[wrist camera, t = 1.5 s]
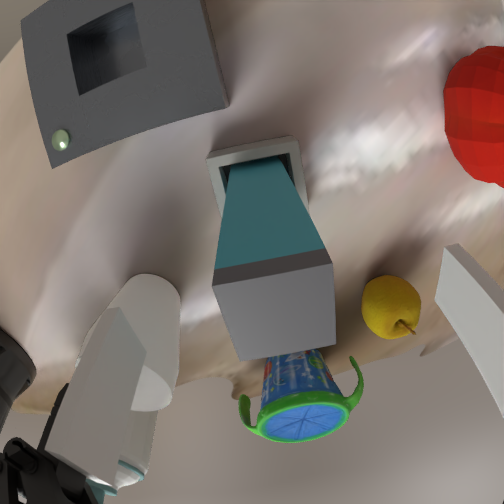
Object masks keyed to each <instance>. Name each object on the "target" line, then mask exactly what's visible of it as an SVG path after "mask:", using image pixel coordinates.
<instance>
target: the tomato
mask: <svg viewBox="0 0 504 504" xmlns="http://www.w3.org/2000/svg"><path fill="white" fill-rule="evenodd" d="M443 93H444V107H445V133H446V136H447V138H448V141H449V144H450V147H451V149H452V151H453V154H454V156H455V157H456V159H457V160H458V161H459V163H460V164H461V165H462V167H463V168H464V170H465V171H466V172H467V173H469V174H470V175H471V176H472V177H473V178H474V179H476V180H480V181H484V182H487V183H496V184H498V185H499V186H501V187H502V188H504V47H500V46H486V47H483V48H480V49H478V50H476V51H475V52H474V53H472V54H471V55H470V56H467V57H464V58H461V59H460V60H459V61H458V62H457V63H456V64H455V66H454V67H453V69H452V70H451V71H450V73H449V75H448V78H447V81H446V84H445V87H444V90H443Z"/></svg>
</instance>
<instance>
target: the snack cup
mask: <svg viewBox="0 0 504 504" xmlns="http://www.w3.org/2000/svg"><path fill="white" fill-rule="evenodd" d="M349 358H350V361H351V364H352V366H353V367H354V368H355V370H356V372H357V375H358V378H359V381H358V385H357V387H356V389H355V391H354V393H353V394H352V395H351V396H349V397H344V396H343V395H342V393H341V392H340V390H339V388H338V386H337V385H336V383H335V382H334V381H333V378H332V375H331V374H330V371H329V369H328V367H327V365H326V363H325V361H324V359H323V357H322V355H321V353H320V352H319V350H316V349H310V350H305V351H300V352H295V353H289V354H284V355H278V356H272V357H268V360H267V362H266V365H265V371H264V380H263V389H262V398H261V400H262V403H261V410H260V412H259V414H258V417H257V425H256V426H251V422H250V399H249V397H248V396H246V395H244V394H242V395H241V396H240V398H239V413H240V417H241V420H242V422H243V424H244V425H245V426H246V427H247V428H248V429H249V430H251V431H252V432H254V433H255V434H258V435H260V436H263V437H265V438H267V439H269V440H272V441H276V442H284V443H295V442H304V441H310V440H314V439H317V438H320V437H323V436H326V435H328V434H330V433H332V432H334V431H336V430H337V429H339V428H340V427H341V426H343V425H344V424H345V423H346V421H347V420H348V418H349V414H350V411H351V410H352V409H353V408H354V407H355V406H356V405H357V403H359V400H360V398H361V396H362V393H363V387H364V383H363V377H362V373H361V371H360V369H359V367H358V365H357V363H356V361H355V360H354V358H353V357H352V356H350V357H349Z"/></svg>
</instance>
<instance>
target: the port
mask: <svg viewBox="0 0 504 504" xmlns="http://www.w3.org/2000/svg"><path fill="white" fill-rule="evenodd" d="M21 30H22V40H23V48H24V55H25V62H26V68H27V74H28V80H29V85H30V90H31V94H32V99H33V103H34V108H35V112H36V116H37V120H38V124H39V127H40V131H41V135H42V138H43V141H44V145H45V148H46V151H47V155H48V158H49V161H50V164H51V167H52V169H53V168H55V167H57V166H59V165H62V164H64V163H66V162H68V161H70V160H72V159H75V158H77V157H79V156H81V155H84V154H86V153H88V152H91V151H93V150H96V149H98V148H100V147H103V146H105V145H108V144H111V143H113V142H116V141H118V140H121V139H124V138H127V137H129V136H132V135H135V134H138V133H141V132H144V131H147V130H150V129H153V128H156V127H159V126H162V125H165V124H168V123H172V122H175V121H179V120H182V119H186V118H189V117H193V116H197V115H200V114H204V113H208V112H212V111H216V110H220V109H225V108H227V107H229V106H230V105H229V101H228V97H227V92H226V88H225V84H224V80H223V76H222V71H221V67H220V63H219V59H218V55H217V51H216V46H215V42H214V38H213V34H212V30H211V26H210V22H209V18H208V14H207V10H206V6H205V2H204V0H49V1H47V2H46V3H44V4H43V5H42V6H40V7H39V8H37V9H36V10H34V11H33V12H32V13H30V14H29V15H28V16H26V17H25V18H24V19H22V20H21Z"/></svg>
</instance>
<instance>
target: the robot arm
mask: <svg viewBox="0 0 504 504" xmlns="http://www.w3.org/2000/svg"><path fill="white" fill-rule="evenodd" d="M435 302H436V303H437V304H438V306H439V307H440V309H441V310H442V312H443V313H444V315H445V316H446V318H447V319H448V321H449V322H450V324H451V325H452V327H453V328H454V330H455V331H456V333H457V335H458V336H459V338H460V339H461V341H462V343H463V344H464V346H465V347H466V349H467V351H468V353H469V354H470V356H471V358H472V359H473V361H474V363H475V364H476V366H477V368H478V370H479V371H480V373H481V375H482V377H483V379H484V381H485V382H486V384H487V386H488V388H489V390H490V392H491V394H492V396H493V398H494V400H495V402H496V403H497V406H498V408H499V410H500V412H501V414H502V416H503V418H504V290H503V289H502V288H501V287H500V286H499V285H498V284H497V283H496V281H495V280H494V279H493V278H492V277H491V276H490V275H489V274H488V273H487V272H486V271H485V270H484V269H483V268H482V267H481V266H480V265H479V264H478V262H477V261H476V260H475V259H474V258H473V257H472V256H471V255H470V254H469V253H467V252H466V251H465V250H464V249H463V248H462V247H461V246H460V245H459V244H454V245H450V246H446V247H444V251H443V258H442V264H441V270H440V276H439V281H438V286H437V291H436V296H435ZM146 353H147V351H146V350H145V348H144V347H143V345H142V344H141V342H140V340H139V339H138V337H137V336H136V334H135V332H134V331H133V329H132V327H131V326H130V324H129V322H128V321H127V319H126V317H125V316H124V314H123V312H122V310H121V309H120V307H116V308H108V309H105V310H104V312H103V314H102V316H101V318H100V320H99V322H98V324H97V325H96V327H95V329H94V331H93V334H92V336H91V338H90V340H89V342H88V344H87V346H86V348H85V350H84V352H83V354H82V356H81V359H80V361H79V363H78V365H77V367H76V370H75V372H74V374H73V376H72V379H71V381H70V383H66V385H65V386H64V387H63V388H62V390H61V391H60V392H59V394H58V396H57V398H56V401H55V403H54V407H53V408H52V411H51V416H49V418H48V421H47V423H46V426H45V429H44V431H43V435H42V437H41V440H40V443H39V445H38V448H37V450H36V449H34V448H33V447H32V446H30V445H29V444H28V443H26V442H25V441H24V440H22V439H21V438H18V437H15V438H12V439H11V440H9V441H8V442H7V444H6V445H5V447H4V450H3V454H2V453H0V504H24V503H22V502H20V501H19V500H18V495H20V496H22V497H24V498H26V499H27V503H26V504H98V502H97V500H96V498H95V496H94V494H93V492H92V489H91V487H90V486H89V484H88V483H87V482H86V477H88V478H89V479H91V480H93V481H95V482H97V483H101V484H105V485H109V486H113V484H114V479H115V474H116V470H117V465H118V460H119V456H120V451H121V447H122V443H123V438H124V434H125V430H126V426H127V422H128V418H129V414H130V410H131V406H132V403H133V399H134V395H135V392H136V388H137V384H138V381H139V377H140V374H141V370H142V367H143V363H144V360H145V357H146ZM35 377H36V369H35V367H34V364H33V363H32V361H31V359H30V358H29V357H28V355H27V354H26V353H25V352H24V350H23V349H22V348H21V347H20V346H19V345H18V344H17V343H16V342H15V341H14V340H13V339H12V338H10V337H9V336H8V335H7V334H5V333H4V332H3V331H1V330H0V433H1V431H2V428H3V425H4V423H5V420H6V418H7V416H8V413H9V411H10V408H11V406H12V404H13V402H14V400H15V399H16V398H18V397H19V396H20V395H21V394H22V393H23V392H24V391H25V390H26V389H27V388H28V387H29V386H30V385H31V384H32V383H33V381H34V379H35ZM503 504H504V501H503Z"/></svg>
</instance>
